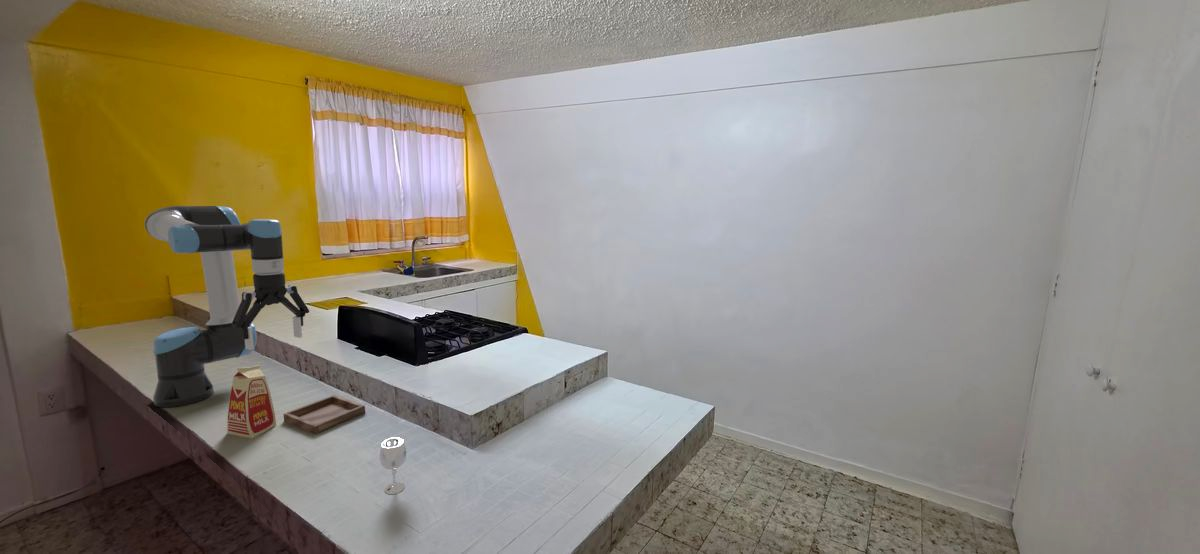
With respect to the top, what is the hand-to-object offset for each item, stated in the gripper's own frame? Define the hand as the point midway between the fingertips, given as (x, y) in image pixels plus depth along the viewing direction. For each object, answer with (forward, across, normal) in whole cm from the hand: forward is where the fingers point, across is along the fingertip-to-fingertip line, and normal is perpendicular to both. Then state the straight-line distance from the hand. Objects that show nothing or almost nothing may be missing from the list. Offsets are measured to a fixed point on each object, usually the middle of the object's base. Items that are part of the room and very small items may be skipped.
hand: (274, 342), depth 136 cm
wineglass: (+25, -8, -57) cm, 63 cm away
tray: (+25, +8, -9) cm, 28 cm away
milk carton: (+26, -6, +3) cm, 27 cm away
